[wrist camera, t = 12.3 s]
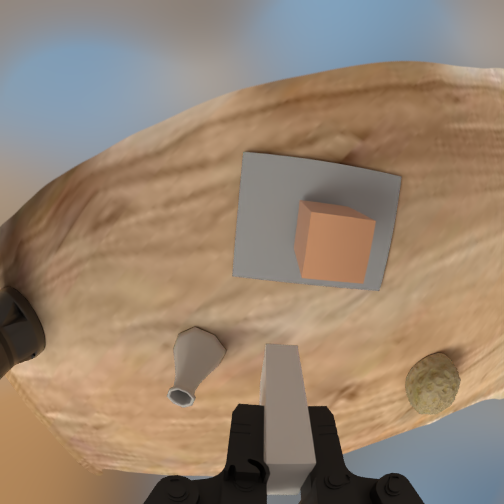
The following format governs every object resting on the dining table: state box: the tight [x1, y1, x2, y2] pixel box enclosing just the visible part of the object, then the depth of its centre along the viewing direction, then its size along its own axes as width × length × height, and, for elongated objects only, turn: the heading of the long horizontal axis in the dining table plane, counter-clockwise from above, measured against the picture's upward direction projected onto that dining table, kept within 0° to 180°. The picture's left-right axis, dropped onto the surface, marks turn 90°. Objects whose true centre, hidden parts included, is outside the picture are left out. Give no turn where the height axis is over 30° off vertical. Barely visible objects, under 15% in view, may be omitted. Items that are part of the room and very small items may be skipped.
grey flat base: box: [232, 152, 401, 291], centre depth 26 cm, size 18×14×10 cm
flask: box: [167, 327, 226, 407], centre depth 32 cm, size 7×7×10 cm
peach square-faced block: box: [294, 200, 376, 284], centre depth 25 cm, size 5×5×9 cm
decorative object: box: [405, 353, 461, 415], centre depth 34 cm, size 9×10×10 cm
